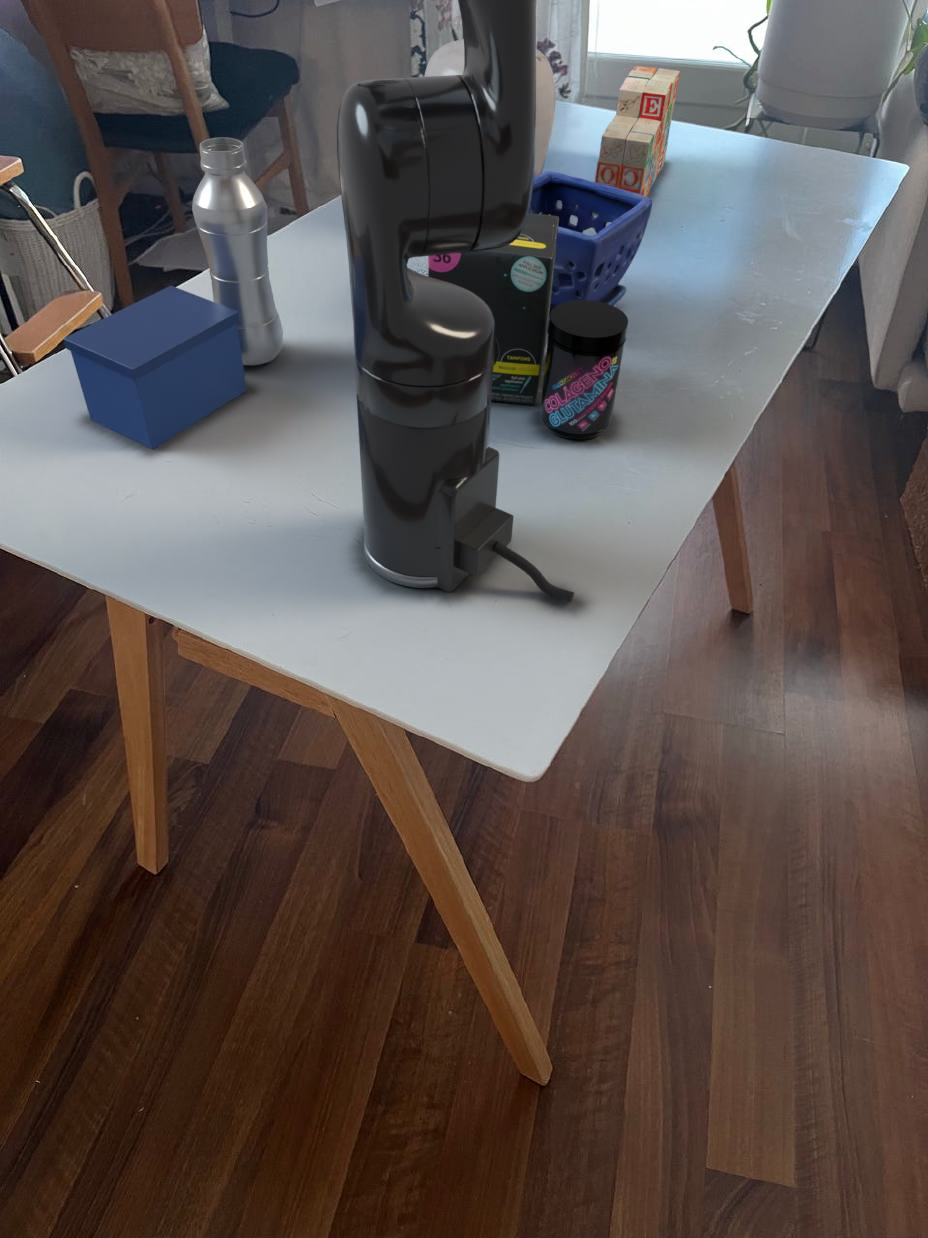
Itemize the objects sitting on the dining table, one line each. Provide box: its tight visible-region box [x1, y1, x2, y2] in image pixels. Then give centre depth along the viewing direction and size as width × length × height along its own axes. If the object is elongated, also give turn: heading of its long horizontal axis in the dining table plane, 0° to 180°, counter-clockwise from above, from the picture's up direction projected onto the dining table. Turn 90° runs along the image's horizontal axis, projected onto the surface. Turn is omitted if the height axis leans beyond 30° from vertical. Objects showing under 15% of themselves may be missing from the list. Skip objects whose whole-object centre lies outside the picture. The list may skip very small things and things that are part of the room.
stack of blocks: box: [594, 65, 681, 197], centre depth 125 cm, size 21×6×12 cm, turn 162°
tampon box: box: [427, 213, 559, 406], centre depth 87 cm, size 11×9×15 cm
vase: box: [423, 13, 557, 177], centre depth 111 cm, size 16×16×23 cm
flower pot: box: [529, 170, 653, 332], centre depth 98 cm, size 13×13×12 cm
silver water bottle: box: [191, 137, 284, 366], centre depth 86 cm, size 6×7×20 cm
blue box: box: [63, 285, 248, 450], centre depth 84 cm, size 8×12×8 cm
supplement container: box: [539, 300, 629, 441], centre depth 83 cm, size 7×7×10 cm
